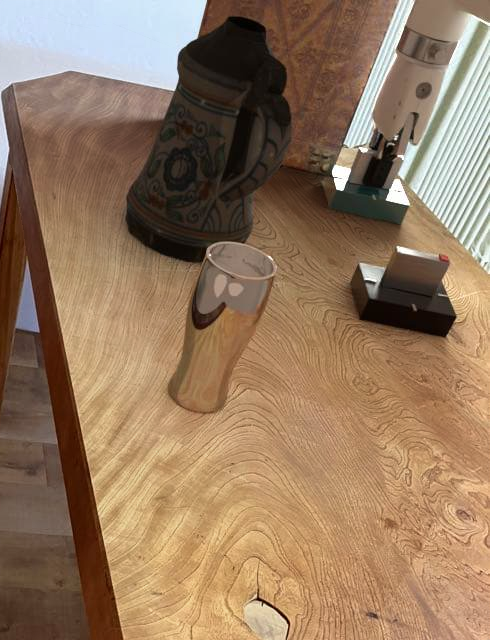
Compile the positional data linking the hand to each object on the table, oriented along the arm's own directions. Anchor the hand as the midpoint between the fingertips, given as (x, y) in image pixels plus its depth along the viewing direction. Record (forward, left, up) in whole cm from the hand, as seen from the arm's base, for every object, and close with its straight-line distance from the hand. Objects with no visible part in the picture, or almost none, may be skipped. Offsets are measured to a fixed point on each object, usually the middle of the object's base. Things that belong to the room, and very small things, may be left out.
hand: (370, 181), depth 131 cm
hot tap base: (0, +31, -3) cm, 31 cm away
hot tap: (0, +31, 0) cm, 31 cm away
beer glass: (+26, +58, -4) cm, 64 cm away
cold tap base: (0, 0, -3) cm, 3 cm away
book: (+16, -13, -4) cm, 21 cm away
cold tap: (0, 0, 0) cm, 0 cm away
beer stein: (+26, +23, -4) cm, 35 cm away
